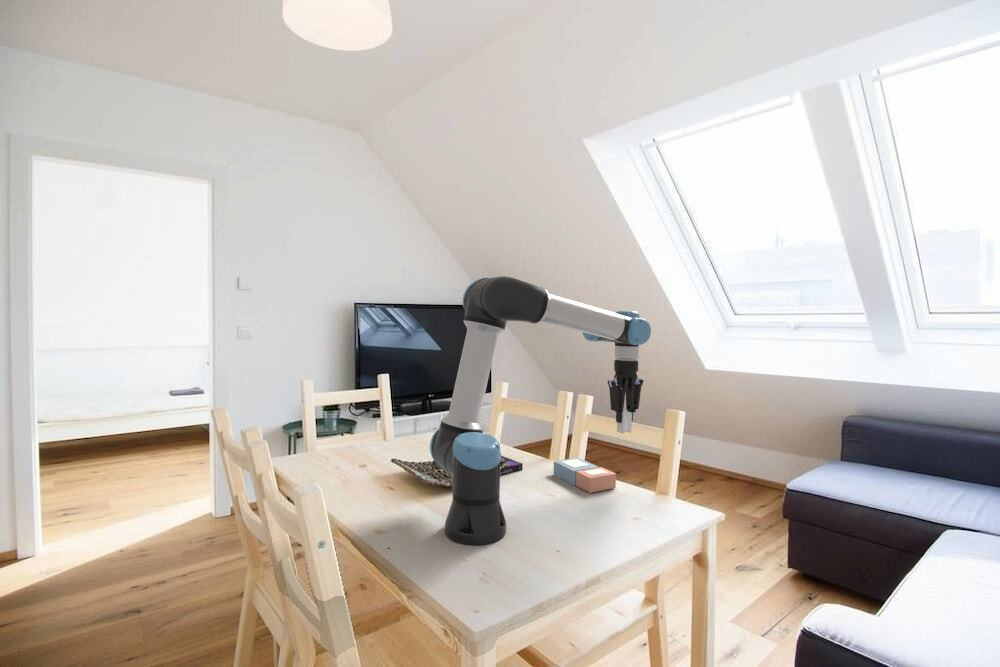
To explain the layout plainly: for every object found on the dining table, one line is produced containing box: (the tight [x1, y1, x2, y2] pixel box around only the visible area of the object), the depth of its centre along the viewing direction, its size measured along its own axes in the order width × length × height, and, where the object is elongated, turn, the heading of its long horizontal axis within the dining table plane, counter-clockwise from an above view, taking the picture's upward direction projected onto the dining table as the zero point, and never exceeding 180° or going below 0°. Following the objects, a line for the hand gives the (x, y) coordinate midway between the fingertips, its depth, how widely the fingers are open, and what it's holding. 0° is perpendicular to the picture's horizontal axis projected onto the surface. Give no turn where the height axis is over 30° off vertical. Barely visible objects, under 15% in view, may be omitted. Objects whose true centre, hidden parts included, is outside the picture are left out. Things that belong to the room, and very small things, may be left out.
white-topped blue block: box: [552, 457, 600, 487], centre depth 165 cm, size 12×10×5 cm
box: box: [500, 455, 524, 477], centre depth 171 cm, size 14×4×20 cm
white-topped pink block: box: [576, 466, 617, 494], centre depth 156 cm, size 7×10×5 cm
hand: (624, 431), depth 161 cm, fingers open, 2 cm apart
